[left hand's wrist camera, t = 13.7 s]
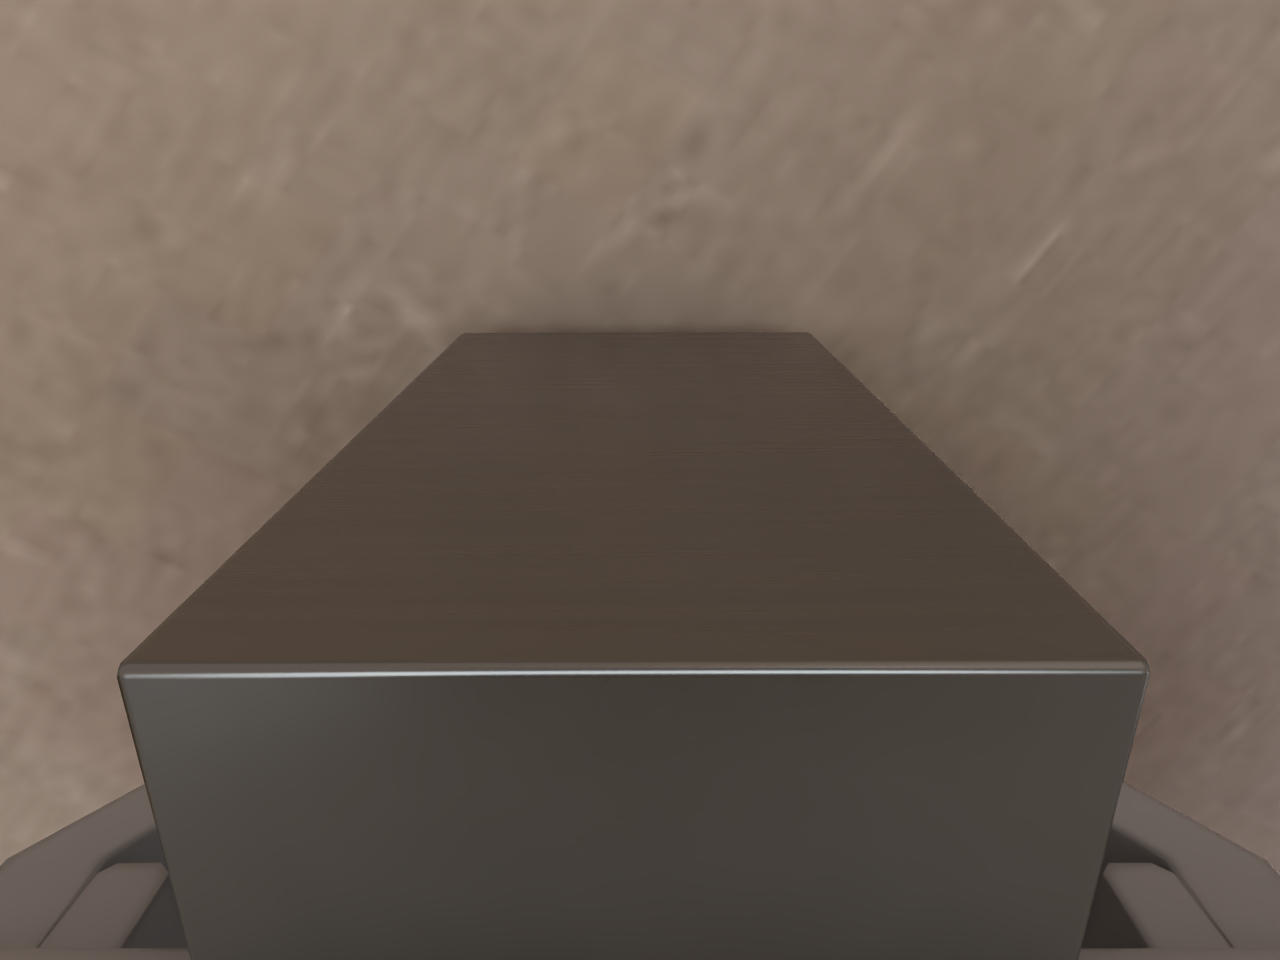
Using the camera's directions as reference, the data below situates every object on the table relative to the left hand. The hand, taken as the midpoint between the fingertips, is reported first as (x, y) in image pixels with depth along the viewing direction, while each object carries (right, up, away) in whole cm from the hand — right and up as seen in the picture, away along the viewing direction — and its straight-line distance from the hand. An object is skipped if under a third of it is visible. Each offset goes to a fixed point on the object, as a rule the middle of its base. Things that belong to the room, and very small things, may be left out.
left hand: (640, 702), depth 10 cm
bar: (0, -8, +7) cm, 10 cm away
